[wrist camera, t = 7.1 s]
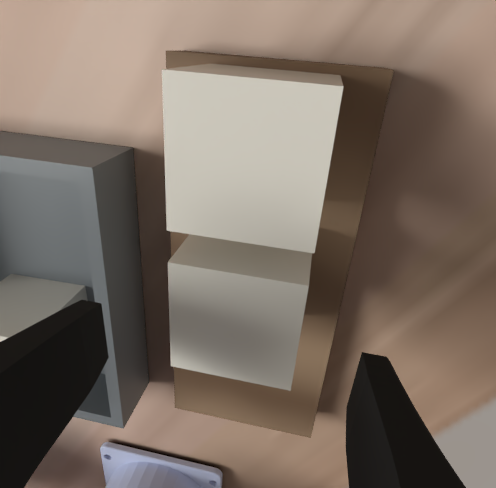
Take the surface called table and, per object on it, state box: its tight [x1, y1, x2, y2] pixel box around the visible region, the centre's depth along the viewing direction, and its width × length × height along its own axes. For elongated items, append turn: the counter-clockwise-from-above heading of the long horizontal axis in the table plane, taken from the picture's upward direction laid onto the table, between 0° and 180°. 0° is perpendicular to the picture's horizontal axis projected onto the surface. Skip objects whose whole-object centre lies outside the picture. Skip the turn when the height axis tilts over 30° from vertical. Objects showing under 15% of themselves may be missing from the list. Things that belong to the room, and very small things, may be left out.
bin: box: [0, 131, 149, 428], centre depth 18 cm, size 13×9×3 cm
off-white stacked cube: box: [168, 234, 312, 391], centre depth 13 cm, size 4×4×4 cm
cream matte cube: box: [0, 274, 88, 342], centre depth 18 cm, size 4×4×4 cm
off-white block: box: [162, 64, 344, 253], centre depth 11 cm, size 4×4×4 cm
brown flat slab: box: [166, 51, 394, 438], centre depth 16 cm, size 16×7×2 cm, turn 176°
